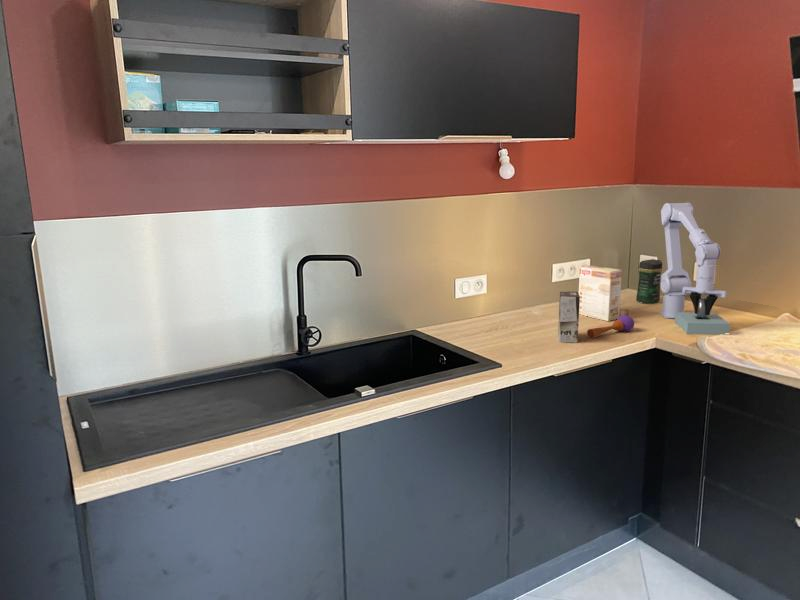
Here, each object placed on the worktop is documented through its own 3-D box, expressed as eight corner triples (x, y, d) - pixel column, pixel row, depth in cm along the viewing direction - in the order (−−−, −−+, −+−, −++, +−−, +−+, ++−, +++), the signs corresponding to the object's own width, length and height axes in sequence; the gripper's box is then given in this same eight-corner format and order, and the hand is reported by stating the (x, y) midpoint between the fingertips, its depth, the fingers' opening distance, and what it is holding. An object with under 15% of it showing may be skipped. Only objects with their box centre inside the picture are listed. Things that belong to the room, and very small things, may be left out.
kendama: (583, 325, 222) (623, 313, 230) (585, 341, 222) (626, 329, 231) (595, 325, 216) (636, 313, 225) (598, 342, 217) (639, 330, 226)
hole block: (674, 322, 237) (675, 312, 236) (714, 323, 235) (715, 313, 234) (686, 333, 222) (687, 323, 221) (729, 334, 220) (730, 323, 219)
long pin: (696, 321, 230) (698, 297, 228) (705, 321, 228) (707, 297, 226) (696, 323, 227) (698, 299, 225) (706, 324, 225) (708, 299, 223)
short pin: (618, 321, 240) (619, 309, 239) (626, 321, 239) (627, 309, 238) (619, 323, 237) (620, 311, 236) (628, 324, 236) (629, 311, 235)
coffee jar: (649, 305, 265) (652, 261, 261) (633, 302, 272) (635, 259, 268) (663, 302, 271) (666, 259, 266) (646, 299, 277) (649, 257, 273)
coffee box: (578, 342, 213) (580, 296, 210) (558, 342, 215) (560, 296, 211) (576, 335, 222) (578, 291, 219) (557, 335, 223) (559, 290, 220)
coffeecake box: (619, 319, 244) (622, 269, 240) (607, 321, 240) (610, 271, 236) (588, 311, 256) (590, 264, 252) (576, 314, 252) (579, 266, 248)
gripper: (680, 276, 226) (677, 313, 229) (723, 281, 216) (719, 319, 219) (687, 273, 231) (684, 309, 234) (730, 278, 221) (726, 315, 224)
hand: (702, 314), depth 227 cm, fingers closed on long pin, 3 cm apart
